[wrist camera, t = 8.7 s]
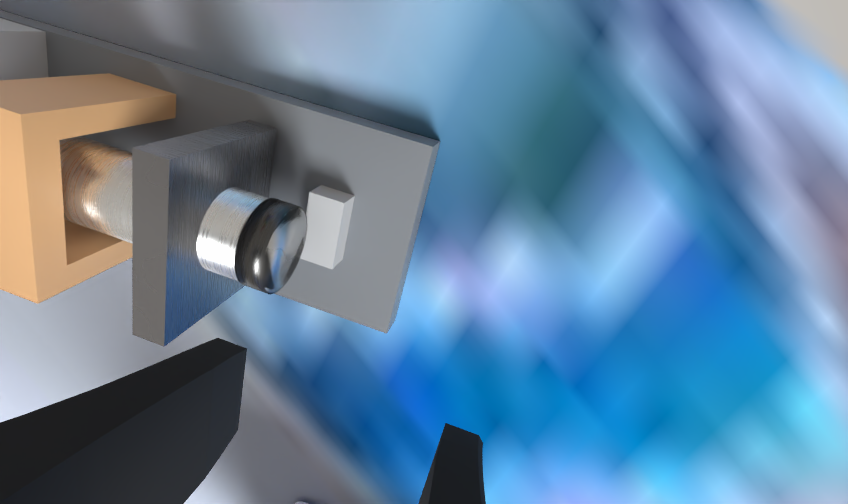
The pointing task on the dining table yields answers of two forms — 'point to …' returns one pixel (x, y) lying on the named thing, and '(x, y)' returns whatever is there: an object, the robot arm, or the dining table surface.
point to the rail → (274, 163)
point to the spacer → (59, 176)
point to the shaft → (187, 219)
